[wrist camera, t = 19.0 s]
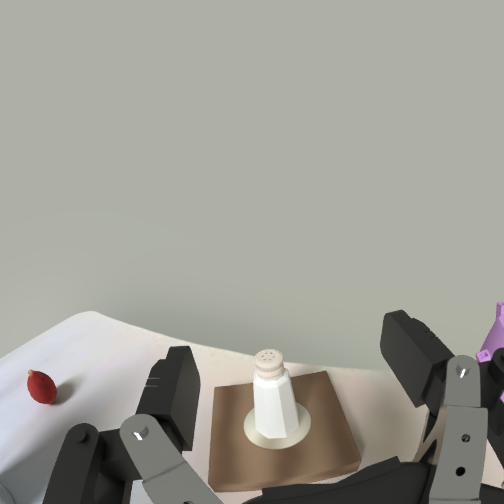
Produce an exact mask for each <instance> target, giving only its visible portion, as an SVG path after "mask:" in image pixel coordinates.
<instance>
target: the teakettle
mask: <svg viewBox="0 0 504 504" xmlns="http://www.w3.org/2000/svg"><path fill="white" fill-rule="evenodd" d="M496 310H497V311H496V321H495V323H494V325H493V327H492V329H491V330H490V332H489V334H488V336H487V338H486V340H485V342H484V344H483V346H482V348H481V350H480V352H479V353H477V354H476V358H477V361H476V362H477V363H479V362H484V361H489V360H491V358H492V356H493V353H494V351H495V350H496V349H498V348H502V347H504V303H503V302H499V303H497V309H496ZM501 400H502V401H503V403H504V393H503V395H502V396H501Z"/></svg>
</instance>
